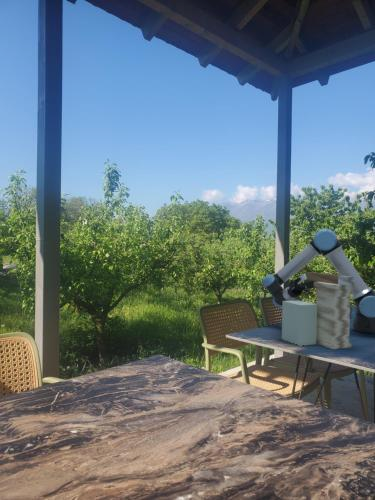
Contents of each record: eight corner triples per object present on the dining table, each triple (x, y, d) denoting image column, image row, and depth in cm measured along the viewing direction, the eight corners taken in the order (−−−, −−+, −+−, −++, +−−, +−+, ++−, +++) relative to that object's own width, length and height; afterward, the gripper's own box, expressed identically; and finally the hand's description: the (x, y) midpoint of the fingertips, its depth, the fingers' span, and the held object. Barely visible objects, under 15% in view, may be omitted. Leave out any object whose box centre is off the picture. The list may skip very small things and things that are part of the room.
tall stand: (330, 340, 201) (332, 281, 201) (352, 347, 189) (354, 284, 188) (312, 342, 197) (313, 282, 196) (332, 349, 184) (334, 285, 183)
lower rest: (297, 337, 205) (298, 300, 205) (316, 344, 193) (317, 304, 192) (281, 339, 201) (282, 301, 201) (299, 345, 189) (300, 305, 188)
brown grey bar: (312, 279, 208) (312, 272, 208) (354, 285, 183) (354, 276, 183) (306, 279, 207) (306, 272, 207) (347, 285, 181) (348, 277, 181)
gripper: (312, 297, 224) (337, 281, 207) (275, 299, 214) (298, 282, 197) (308, 285, 227) (332, 269, 210) (272, 286, 217) (294, 269, 200)
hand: (315, 275), depth 203 cm, fingers open, 13 cm apart
